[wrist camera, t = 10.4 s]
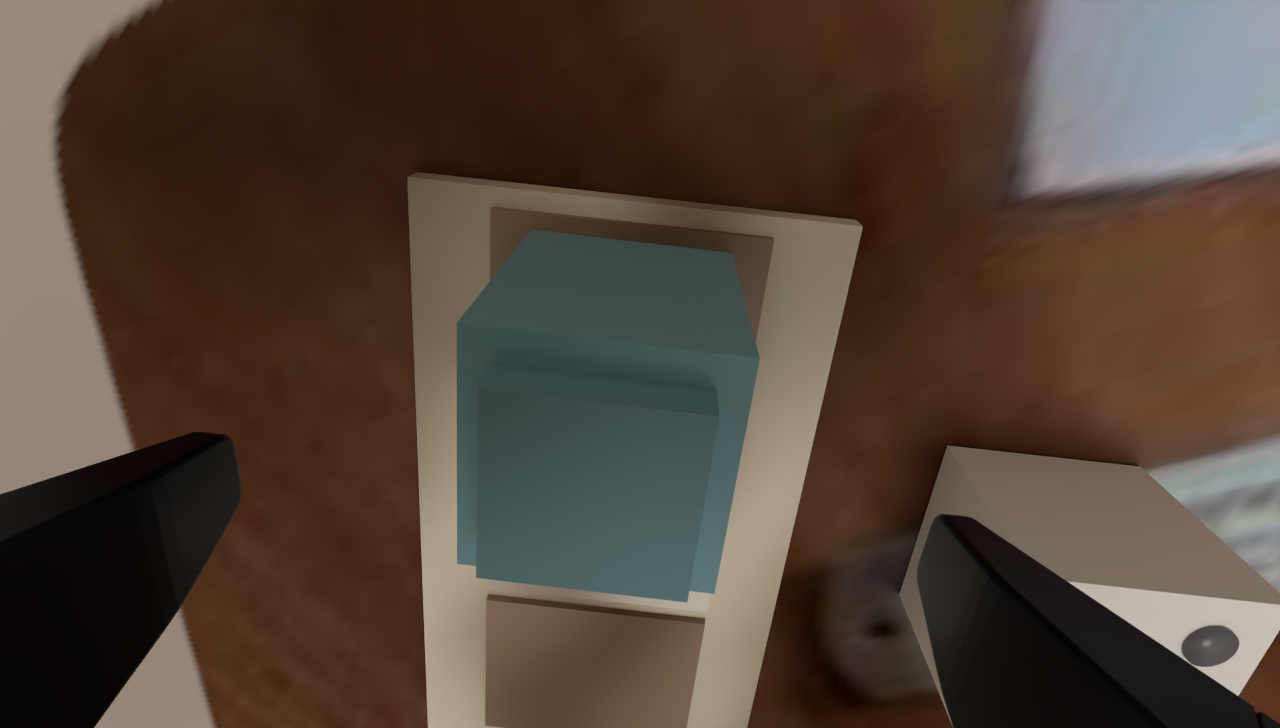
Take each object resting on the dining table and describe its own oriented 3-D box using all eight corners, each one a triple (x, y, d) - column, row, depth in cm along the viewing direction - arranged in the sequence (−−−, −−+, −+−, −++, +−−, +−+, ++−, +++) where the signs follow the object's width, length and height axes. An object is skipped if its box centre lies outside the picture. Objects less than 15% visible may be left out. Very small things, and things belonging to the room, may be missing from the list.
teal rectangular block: (731, 252, 14) (767, 385, 8) (703, 428, 16) (717, 632, 10) (530, 229, 14) (437, 346, 9) (523, 407, 16) (441, 601, 10)
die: (1139, 466, 16) (1297, 610, 12) (1072, 614, 18) (1189, 782, 14) (947, 445, 16) (1039, 582, 12) (899, 594, 18) (964, 757, 14)
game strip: (855, 219, 14) (865, 229, 14) (714, 844, 23) (715, 871, 22) (417, 172, 14) (403, 178, 14) (437, 813, 23) (429, 839, 22)
